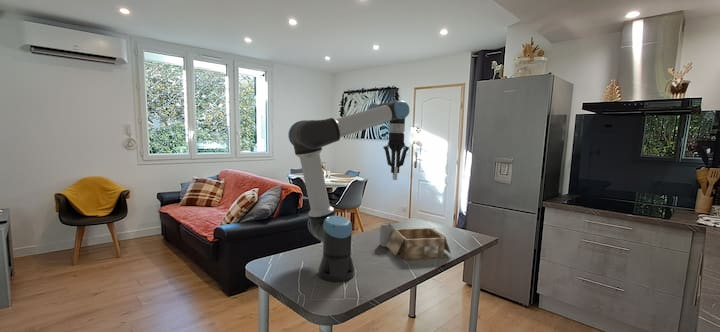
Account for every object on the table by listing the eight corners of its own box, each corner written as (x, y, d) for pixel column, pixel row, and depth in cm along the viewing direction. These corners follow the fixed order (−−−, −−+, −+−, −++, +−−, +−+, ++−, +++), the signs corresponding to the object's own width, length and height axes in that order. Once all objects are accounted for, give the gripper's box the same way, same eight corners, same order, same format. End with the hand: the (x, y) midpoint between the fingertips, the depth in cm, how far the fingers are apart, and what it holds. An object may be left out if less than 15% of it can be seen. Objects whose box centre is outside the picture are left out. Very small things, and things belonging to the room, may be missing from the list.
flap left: (403, 238, 151) (404, 238, 151) (394, 229, 164) (395, 229, 165) (394, 255, 151) (395, 256, 151) (386, 245, 164) (387, 245, 165)
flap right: (450, 253, 157) (450, 253, 157) (438, 243, 171) (437, 243, 171) (445, 236, 155) (444, 237, 155) (432, 228, 169) (432, 228, 169)
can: (392, 248, 166) (393, 226, 164) (378, 247, 167) (379, 224, 166) (394, 244, 173) (395, 222, 172) (380, 242, 174) (381, 221, 173)
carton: (405, 260, 150) (406, 240, 149) (393, 247, 167) (394, 229, 166) (444, 258, 155) (445, 238, 154) (429, 246, 171) (430, 227, 170)
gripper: (386, 132, 153) (384, 180, 156) (411, 132, 156) (409, 180, 158) (382, 132, 160) (380, 178, 163) (406, 132, 163) (404, 178, 166)
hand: (394, 179), depth 161 cm, fingers closed
